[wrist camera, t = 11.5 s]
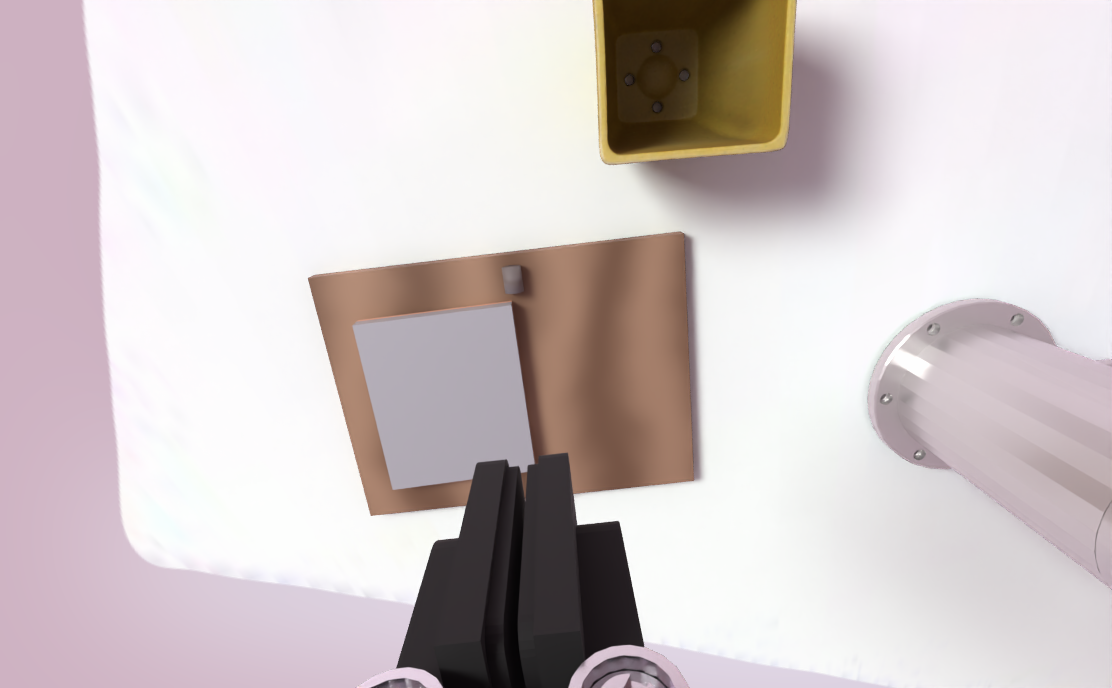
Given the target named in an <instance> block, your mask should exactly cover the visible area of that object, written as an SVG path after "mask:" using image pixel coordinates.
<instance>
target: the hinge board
mask: <svg viewBox="0 0 1112 688" xmlns="http://www.w3.org/2000/svg"><path fill="white" fill-rule="evenodd" d="M308 281H309V285H310V288H311V292H312V296H313V300H314V303H315V307H316V311H317V315H318V318H319V322H320V326H321V330H322V334H323V337H324V341H325V345H326V349H327V352H328V356H329V360H330V364H331V367H332V371H333V375H334V379H335V383H336V386H337V390H338V394H339V398H340V401H341V405H342V409H343V413H344V416H345V420H346V424H347V428H348V431H349V435H350V439H351V443H352V447H353V450H354V454H355V458H356V462H357V465H358V469H359V473H360V477H361V480H362V484H363V488H364V492H365V496H366V499H367V503H368V507H369V511H370V514H371V516H373V515H382V514H392V513H401V512H410V511H419V510H428V509H438V508H447V507H456V506H465V505H467V501H468V496H469V492H470V488H471V484H472V479H471V480H464V481H456V482H449V483H441V484H434V485H426V486H419V487H411V488H404V489H396V490H393V489H392V485H391V481H390V477H389V473H388V469H387V465H386V461H385V456H384V452H383V448H382V444H381V440H380V436H379V432H378V428H377V424H376V420H375V416H374V412H373V408H372V404H371V400H370V395H369V391H368V387H367V383H366V379H365V375H364V371H363V367H362V363H361V359H360V355H359V351H358V347H357V343H356V339H355V334H354V330H353V326H352V325H353V324H354V323H356V322H357V321H358V320H364V319H372V318H380V317H388V316H396V315H404V314H411V313H419V312H427V311H435V310H443V309H451V308H458V307H466V306H474V305H482V304H490V303H498V302H505V301H512V306H513V313H514V320H515V327H516V334H517V341H518V348H519V354H520V361H521V368H522V375H523V382H524V389H525V396H526V402H527V409H528V416H529V423H530V430H531V437H532V443H533V450H534V457H535V464H538V458H539V456H541V455H550V454H559V453H568V456H569V463H570V471H571V479H572V488H573V494H576V493H585V492H594V491H603V490H613V489H622V488H631V487H640V486H649V485H659V484H668V483H677V482H686V481H694V470H693V446H692V421H691V396H690V371H689V347H688V322H687V297H686V272H685V248H684V233H682V232H672V233H664V234H656V235H647V236H639V237H630V238H622V239H614V240H605V241H597V242H588V243H580V244H571V245H563V246H555V247H546V248H538V249H529V250H521V251H513V252H504V253H496V254H487V255H479V256H471V257H462V258H454V259H445V260H437V261H428V262H420V263H412V264H403V265H395V266H386V267H378V268H370V269H361V270H353V271H344V272H336V273H327V274H319V275H313V276H311V277H309V278H308ZM521 477H522V483H523V490H524V496H525V499H526V483H527V472H523V473H521Z"/></svg>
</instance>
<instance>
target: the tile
mask: <svg viewBox="0 0 1112 688" xmlns="http://www.w3.org/2000/svg"><path fill="white" fill-rule="evenodd" d="M352 326H353V330H354V334H355V339H356V343H357V347H358V351H359V355H360V359H361V363H362V367H363V371H364V375H365V379H366V383H367V387H368V391H369V395H370V400H371V404H372V408H373V412H374V416H375V420H376V424H377V428H378V432H379V436H380V440H381V444H382V448H383V452H384V456H385V461H386V465H387V469H388V473H389V477H390V481H391V485H392V489H393V490H396V489H404V488H411V487H419V486H426V485H434V484H441V483H449V482H456V481H464V480H471V479H473V475H474V471H475V467H476V464H477V463H478V462H486V461H495V460H504V459H507V461H508V463H509V467H513V466H519V467H520V471H521V473H523V472H527V467H528V465H531V464H535V457H534V450H533V443H532V437H531V430H530V423H529V416H528V409H527V402H526V396H525V389H524V382H523V375H522V368H521V361H520V354H519V348H518V341H517V334H516V327H515V320H514V313H513V306H512V301H505V302H498V303H490V304H482V305H474V306H466V307H458V308H451V309H443V310H435V311H427V312H419V313H411V314H404V315H396V316H388V317H380V318H372V319H364V320H358V321H357V322H356V323H354V324H353V325H352Z"/></svg>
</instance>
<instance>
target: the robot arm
mask: <svg viewBox="0 0 1112 688" xmlns="http://www.w3.org/2000/svg"><path fill="white" fill-rule="evenodd" d="M867 400H868V411H869V416H870V419H871V422H872V425H873V428H874V429H875V431H876V433H877V434H878V436H879V438H880V439H881V440H882V441H883V442H884V443H885V444H886V445H887V446H888V447H889V448H890V449H891V450H893V451H894V452H895V453H897V454H898V455H899V456H900V457H902V458H903V459H905V460H907V461H909V462H911V463H913V464H916V465H920V466H924V467H928V468H937V469H952V468H953V469H954V470H955V471H956V472H958V473H959V474H960V475H962V476H963V477H964V478H966V479H967V480H968V481H970V482H971V483H972V484H974V485H975V486H976V487H978V488H979V489H980V490H981V491H983V492H984V493H985V494H987V495H988V496H989V497H991V498H992V499H993V500H995V501H996V502H997V503H999V504H1000V505H1001V506H1003V507H1004V508H1005V509H1006V510H1008V511H1009V512H1010V513H1012V514H1013V515H1014V516H1016V517H1017V518H1018V519H1020V520H1021V521H1022V522H1024V523H1025V524H1026V525H1028V526H1029V527H1030V528H1031V529H1033V530H1034V531H1035V532H1037V533H1038V534H1039V535H1041V536H1042V537H1043V538H1045V539H1046V540H1047V541H1049V542H1050V543H1051V544H1053V545H1054V546H1055V547H1057V548H1058V549H1059V550H1060V551H1062V552H1063V553H1064V554H1066V555H1067V556H1068V557H1070V558H1071V559H1072V560H1074V561H1075V562H1076V563H1078V564H1079V565H1080V566H1082V567H1083V568H1084V569H1085V570H1087V571H1088V572H1089V573H1091V574H1092V575H1093V576H1095V577H1096V578H1097V579H1099V580H1100V581H1101V582H1103V583H1104V584H1105V585H1107V586H1108V587H1109V588H1110V589H1112V359H1104V360H1095V361H1094V360H1092V359H1089V358H1086V357H1084V356H1081V355H1078V354H1075V353H1073V352H1070V351H1067V350H1064V349H1062V348H1059V347H1056V344H1055V342H1054V340H1053V338H1052V336H1051V334H1050V331H1049V330H1048V329H1047V328H1046V326H1045V325H1044V324H1043V323H1042V322H1041V320H1040V319H1038V318H1037V317H1035V316H1034V315H1033V314H1031V313H1030V312H1029V311H1027V310H1025V309H1022V308H1020V307H1017V306H1015V305H1012V304H1009V303H1005V302H1001V301H998V300H992V299H978V298H977V299H968V300H959V301H956V302H952V303H949V304H946V305H942V306H940V307H938V308H935V309H933V310H931V311H929V312H927V313H925V314H923V315H922V316H920V317H919V318H917V319H916V320H914V321H913V322H911V323H910V324H908V325H907V326H906V327H905V328H904V329H903V330H902V331H901V332H900V333H899V334H898V335H897V336H896V337H894V339H893V340H892V341H891V342H890V344H889V345H888V346H887V348H886V349H885V350H884V351H883V353H882V355H881V357H880V359H879V360H878V362H877V364H876V366H875V368H874V371H873V374H872V377H871V380H870V383H869V390H868V398H867ZM356 688H689V686H688V684H687V682H686V680H685V679H684V677H683V676H682V674H681V672H680V671H679V669H678V668H677V667H676V666H675V665H674V664H673V663H671V662H670V661H669V660H668V659H667V658H666V657H665V656H663V655H661V654H659V653H657V652H655V651H653V650H650V649H648V648H645V647H644V643H643V638H642V633H641V628H640V623H639V618H638V613H637V608H636V603H635V598H634V592H633V587H632V582H631V577H630V572H629V567H628V562H627V557H626V552H625V547H624V542H623V537H622V532H621V528H620V523H619V521H614V522H604V523H595V524H586V525H577V520H576V512H575V504H574V496H573V488H572V479H571V471H570V463H569V456H568V453H559V454H550V455H541V456H539V458H538V464H531V465H528V467H527V483H526V499H525V496H524V490H523V483H522V477H521V471H520V467H519V466H513V467H509V463H508V461H507V459H504V460H495V461H486V462H478V463H477V464H476V467H475V471H474V475H473V479H472V484H471V488H470V492H469V496H468V501H467V505H466V509H465V514H464V518H463V522H462V526H461V531H460V535H459V538H455V539H446V540H437V541H436V542H435V543H434V545H433V547H432V550H431V553H430V556H429V560H428V563H427V567H426V570H425V573H424V577H423V580H422V583H421V587H420V590H419V593H418V597H417V600H416V604H415V607H414V610H413V614H412V617H411V621H410V624H409V627H408V631H407V634H406V638H405V641H404V644H403V647H402V651H401V654H400V658H399V661H398V665H397V667H396V669H391V670H388V671H385V672H383V673H380V674H377V675H375V676H373V677H371V678H370V679H368V680H366V681H365V682H363V683H362V684H360V685H358V686H357V687H356Z"/></svg>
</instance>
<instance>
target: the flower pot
mask: <svg viewBox="0 0 1112 688" xmlns="http://www.w3.org/2000/svg"><path fill="white" fill-rule="evenodd" d="M592 1H593V15H594V30H595V49H596V70H597V95H598V125H599V148H600V156H601V159H602V161H603V162H604V163H605V164H608V165H618V164H628V163H638V162H649V161H660V160H670V159H683V158H696V157H709V156H720V155H734V154H747V153H762V152H772V151H778V150H781V149H783V148H784V147H785V145H786V142H787V139H788V133H789V118H790V105H791V87H792V69H793V55H794V33H795V18H796V4H797V0H592ZM654 42H659V43H660V44H661V50H660V51H659V52H653V51H652V48H651V46H652V44H653V43H654ZM683 70H686V71H687V72H688V74H689V77H688V79H687V80H685V81H683V80H681V79H680V77H679V74H680V72H681V71H683ZM627 75H632V76H633V77H634V83H633V84H631V85H627V84H626V83H625V77H626V76H627ZM655 102H659V103H660V104H661V106H662V108H661V110H660V111H659V112H654V111H653V109H652V107H653V104H654V103H655Z"/></svg>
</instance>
